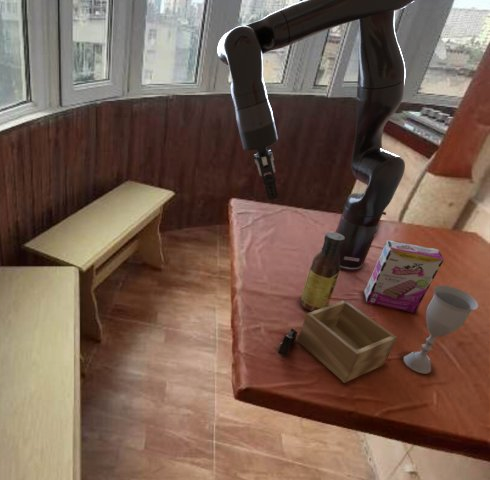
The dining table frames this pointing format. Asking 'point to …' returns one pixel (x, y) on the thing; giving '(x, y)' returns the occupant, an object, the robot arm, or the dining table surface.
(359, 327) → the caddy
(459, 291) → the chalice
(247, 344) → the dining table surface
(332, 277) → the sauce bottle
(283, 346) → the lighter
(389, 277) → the candy bar box
